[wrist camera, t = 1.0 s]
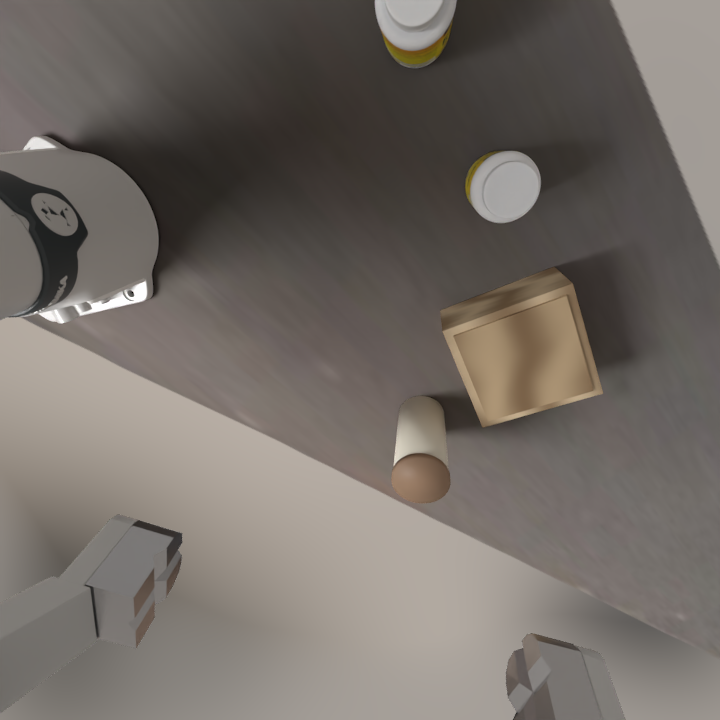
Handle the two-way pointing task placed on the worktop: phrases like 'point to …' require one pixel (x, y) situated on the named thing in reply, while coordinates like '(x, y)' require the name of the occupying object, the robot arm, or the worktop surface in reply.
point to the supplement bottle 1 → (415, 29)
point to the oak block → (522, 348)
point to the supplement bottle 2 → (503, 185)
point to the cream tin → (421, 451)
